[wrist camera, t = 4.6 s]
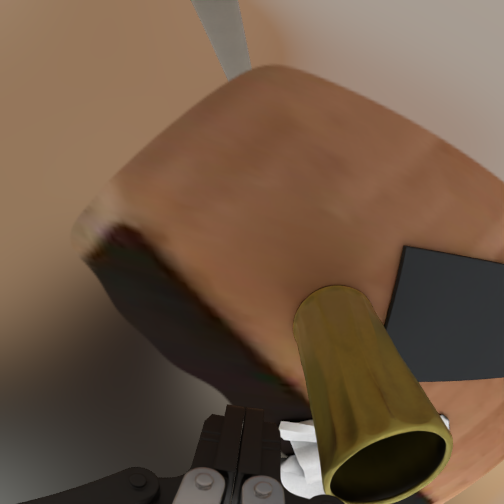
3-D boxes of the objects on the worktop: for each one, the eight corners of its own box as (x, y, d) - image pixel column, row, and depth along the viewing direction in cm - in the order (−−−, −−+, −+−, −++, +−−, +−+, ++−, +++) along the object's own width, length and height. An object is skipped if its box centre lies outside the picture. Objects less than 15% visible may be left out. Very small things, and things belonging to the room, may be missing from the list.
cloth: (461, 455, 25) (468, 468, 23) (303, 529, 29) (303, 543, 27) (415, 343, 23) (427, 357, 20) (201, 451, 26) (196, 469, 24)
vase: (375, 349, 23) (448, 488, 9) (299, 366, 24) (316, 524, 10) (369, 276, 22) (476, 391, 8) (286, 293, 22) (300, 441, 8)
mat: (403, 245, 21) (406, 246, 21) (537, 270, 21) (540, 272, 20) (367, 377, 23) (369, 381, 23) (501, 374, 23) (504, 377, 22)
